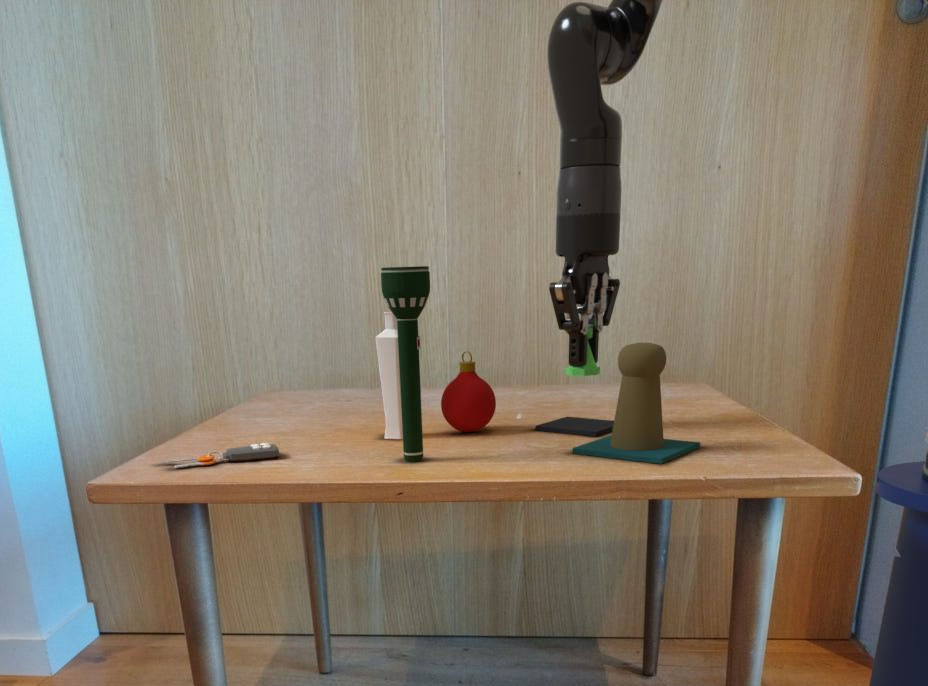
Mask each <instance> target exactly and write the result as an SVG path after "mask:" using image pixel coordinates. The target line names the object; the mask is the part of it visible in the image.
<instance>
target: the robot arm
mask: <svg viewBox="0 0 928 686" xmlns="http://www.w3.org/2000/svg"><path fill="white" fill-rule="evenodd" d="M923 1H924V2H925V4H926V5H928V0H923ZM662 4H663V0H611V1H610V2H609V4H608V6H603V5H599V4H594V3H590V2H586V1H575V2H574V1H573V2H570V3H569V4H567V5H565V6H564V7H562V9H561V10H560V11H559V13H558V14H557V16H556V17H555V19H554V21H553V24H552V26H551V28H550V32H549V36H548V41H547V50H546V51H547V52H546V53H547V54H546V57H547V58H546V59H547V69H548V76H549V79H550V86H551V91H552V96H553V101H554V106H555V112H556V116H557V119H558V120H557V121H558V125H559V130H560V131H559V132H560V134H559V135H560V136H559V170H558V171H559V172H558V181H557V187H556V211H555V213H556V215H555V216H556V217H555V221H556V222H555V254H556V256H557V257H560V258H564V262H563V263H564V264H563V268H562V272H561V275H562V276H561V279H560V280H559V281H558V282H557V281H556V282H555V281H551V282H550V283H549V286H548V290H549V294H550V298H551V302H552V307H553V311H554V315H555V318H556V319H555V320H556V323H557V327H558V330H560V331H561V330H562V331H565V333H566V334H567V335H568V365H569V367H570V366H575V367H582V366H584V365H586V363H587V339H588V335H586V334H587V331H588V326H589V327H591V328H593V333H592V338H590V339H588V342H589V345H590V348H591V351H592V354H593V357H594V360H595V363H596V364H598V362H599V345H600V343H599V341H600V333H602V331H603V329H604V327H608V326H609V325H610V323H611V319H612V316H613V313H614V308H615V305H616V301H617V298H618V294H619V290H620V287H621V281H620V279H619V278H612V277H611V275H610V266H609V265H610V264H609V257H610V256H615V255H617V254H618V253H619V250H620V233H621V214H622V213H621V211H622V208H621V207H622V189H623V188H622V175H621V173H622V172H621V165H622V146H623V145H622V142H623V141H622V140H623V123H622V121H623V120H622V116H621V114H620V112H618V110H617V109H615V108H613V107H612V106H610V105H609V104H608V103H607V102H606V100H605V99H604V95H603V90H602V86H612V85H615V84H617V83H619V82H620V81H622V80H623V79H624V78H626V77H627V76H628V75H629V74H630V73H631V71H632V70H633V69H634V68H635V67H636V65H637V64H638V63H639V60H640V59H641V56H642V54H643V52H644V50H645V48H646V45H647V43H648V40H649V38H650V35H651V33H652V30H653V28H654V25H655V22H656V20H657V17H658V14H659V12H660V9H661V6H662ZM925 433H926V434H925V437H924V438H925V439H924V442H925V443H927V444H928V427H926V432H925ZM925 461H926V463H925V464H924V467H923V472H922V478H923V479H925V480H926V481H928V451H927V452H926V456H925Z"/></svg>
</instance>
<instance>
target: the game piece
mask: <svg viewBox="0 0 928 686" xmlns="http://www.w3.org/2000/svg"><path fill="white" fill-rule="evenodd" d="M592 333H593V328H591V327H589V326H588V331H587V334H586V335H588V339H590V338H592ZM588 339H587V363H586V365H584V366H582V367H575V366H570V365H569V366H568V367H565V375H566V376H572V377H576V376H577V377H588V376H598V375H600V374H601V366H597V363H595V360H594V357H593V354H592V351H591V348H590V345H589V342H588Z"/></svg>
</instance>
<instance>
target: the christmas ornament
mask: <svg viewBox="0 0 928 686" xmlns="http://www.w3.org/2000/svg"><path fill="white" fill-rule="evenodd" d="M466 353H467V354H469V356H470V360H469V361H467V360H466V361H465V359H464V357H465V354H466ZM461 360H462V361H460V362H459V373H458V374H457V376H456V377H454V379H452V380H451V381H450V382H449V383H448V384H447V385H446V387H445V389H444V390H443V392H442V395H441V401H440V408H441V413H442V415H443V418H444V419H445V421H446V422H447V424H448V425H450V426H451V427H452V428H453V429H455V430H457V431H460V432H462V433H474V432H478V431H480V430H482V429H484V428H485V427H487V425H488V424H490V422H491V421H492V419H493V418H494V415H495V412H496V406H497V401H496V400H497V399H496V395H495V392H494V390H493V388H492V387H491V385H490V384H489V383H488V382H487V381H486V380H484V379H483V378H482V377H480V376H479V375H478V373H477V372H476V361H473V355H472V353H471V352H470V351H468V350H467V351H464V352H463V353H462V355H461Z"/></svg>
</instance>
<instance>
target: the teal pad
mask: <svg viewBox="0 0 928 686" xmlns="http://www.w3.org/2000/svg"><path fill="white" fill-rule="evenodd" d="M611 437H612V434H610V435H607V436H604V437H601V438H597V439H596V440H595V439H594V440H592V441H589V442H587V443H584V444H581V445H578V446H575V447H572V450H571V451H572V454H574V455H575V454H576V455H583V456H592V457H601V458H608V459H609V458H610V459H617V460H623V461H624V460H626V461H634V462H641V463H642V462H643V463H649V464H650V463H651V464H659V465H663V464H664V463H665V464H666V463H667V462H669V461H671V460H674V459H677V458H679V457H682V456H683V455H686V454H688V453H691V452H693V451H695V450H698V449H700V448H701V442H699V441H690V440H681V439H670V438H664V446H663V447H662V448H659V449H653V450H623V449H617V448H613V447H611V446H610V442H611Z"/></svg>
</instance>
